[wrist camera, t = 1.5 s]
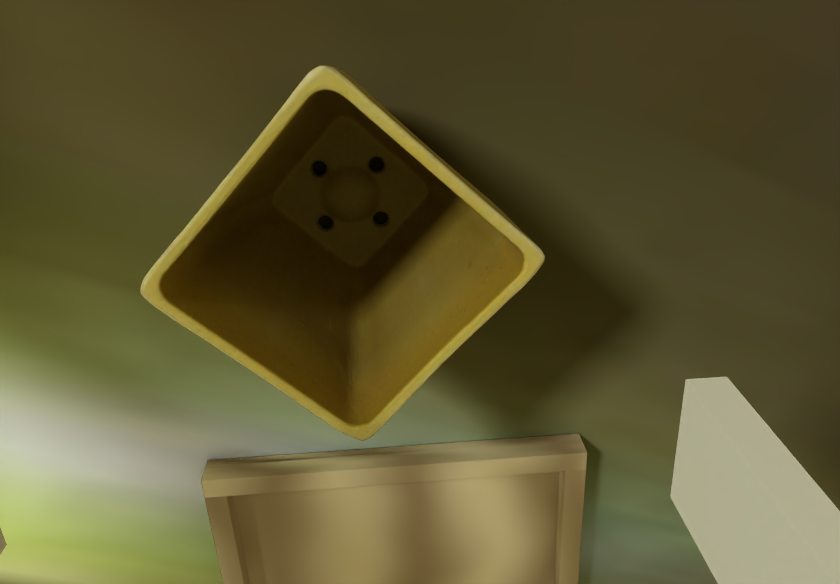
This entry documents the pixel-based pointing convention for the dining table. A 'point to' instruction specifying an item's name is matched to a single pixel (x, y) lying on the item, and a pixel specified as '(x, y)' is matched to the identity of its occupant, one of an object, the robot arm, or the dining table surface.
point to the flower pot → (341, 258)
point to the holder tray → (402, 514)
